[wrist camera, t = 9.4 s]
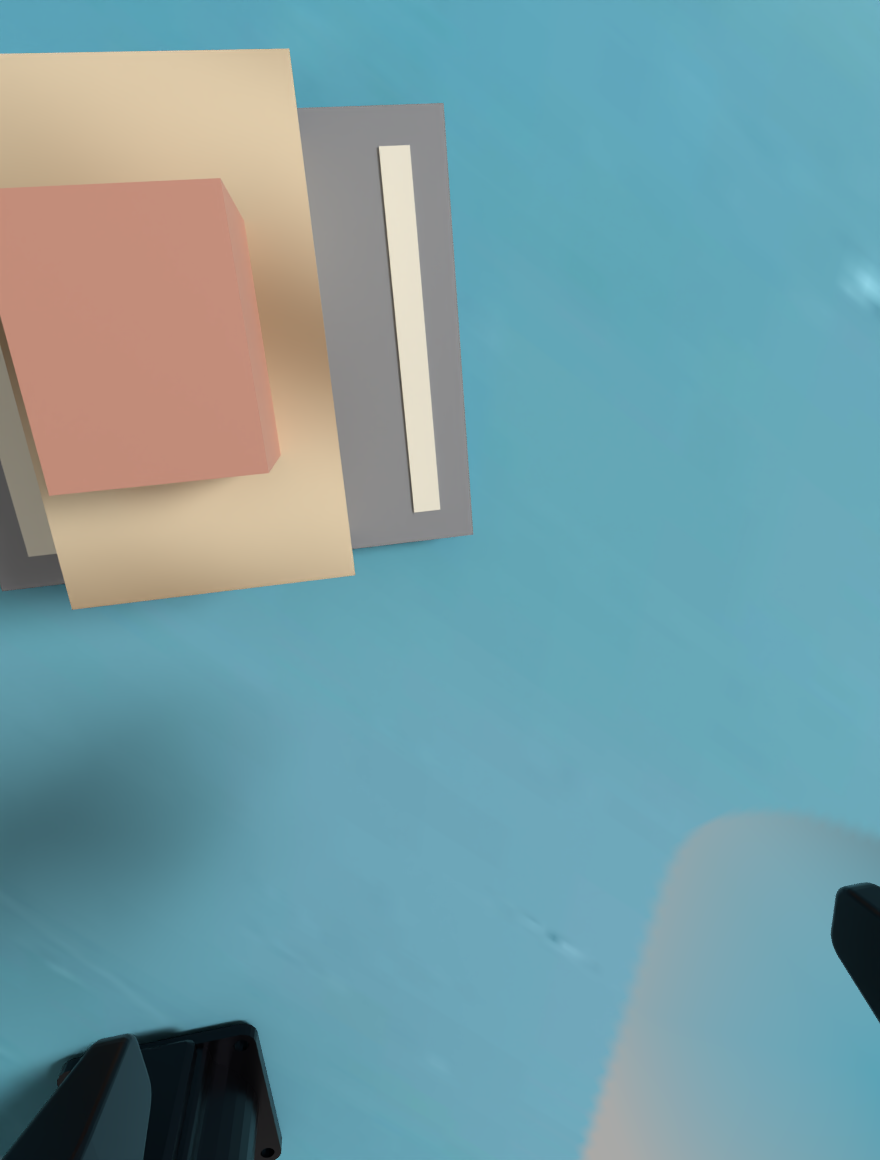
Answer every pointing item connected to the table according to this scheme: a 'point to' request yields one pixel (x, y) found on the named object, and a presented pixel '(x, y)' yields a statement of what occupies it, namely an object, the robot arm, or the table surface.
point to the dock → (346, 339)
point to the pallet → (284, 299)
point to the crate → (135, 333)
